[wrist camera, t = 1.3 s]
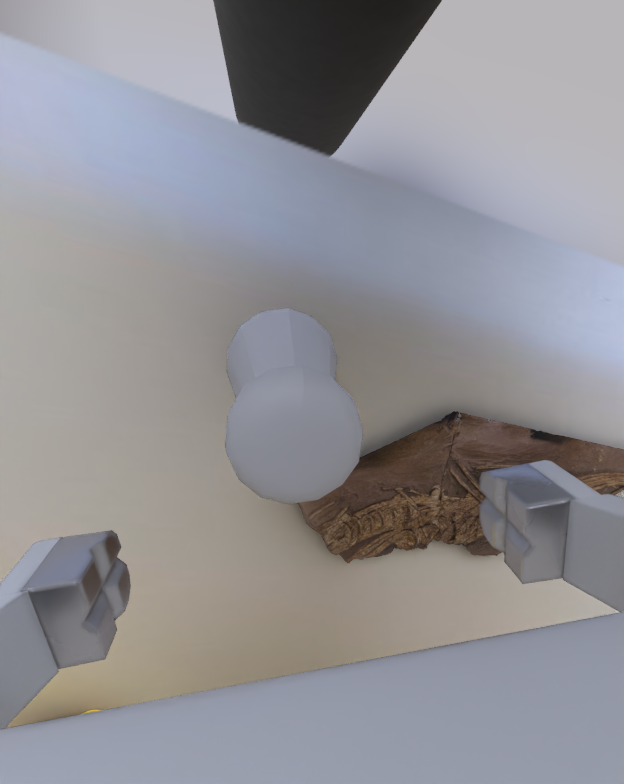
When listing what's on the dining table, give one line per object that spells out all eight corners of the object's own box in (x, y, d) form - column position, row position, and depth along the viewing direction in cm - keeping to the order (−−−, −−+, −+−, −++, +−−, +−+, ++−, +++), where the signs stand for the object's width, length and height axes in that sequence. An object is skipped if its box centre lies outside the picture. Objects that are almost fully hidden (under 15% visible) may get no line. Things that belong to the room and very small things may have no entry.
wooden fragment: (289, 562, 29) (290, 572, 28) (290, 411, 25) (291, 418, 24) (630, 540, 32) (642, 549, 31) (671, 403, 28) (686, 408, 27)
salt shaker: (349, 353, 25) (435, 449, 13) (282, 419, 26) (299, 569, 13) (278, 281, 23) (296, 310, 11) (208, 354, 24) (151, 458, 12)
